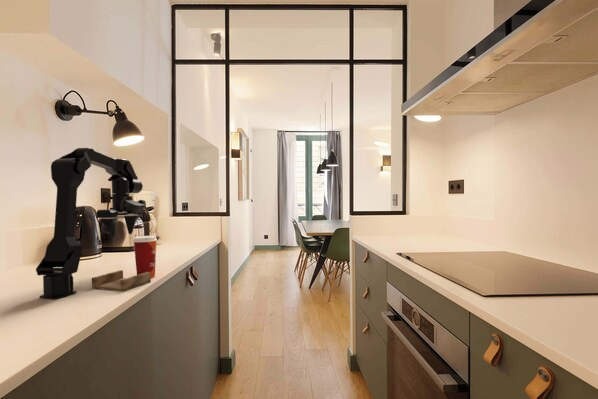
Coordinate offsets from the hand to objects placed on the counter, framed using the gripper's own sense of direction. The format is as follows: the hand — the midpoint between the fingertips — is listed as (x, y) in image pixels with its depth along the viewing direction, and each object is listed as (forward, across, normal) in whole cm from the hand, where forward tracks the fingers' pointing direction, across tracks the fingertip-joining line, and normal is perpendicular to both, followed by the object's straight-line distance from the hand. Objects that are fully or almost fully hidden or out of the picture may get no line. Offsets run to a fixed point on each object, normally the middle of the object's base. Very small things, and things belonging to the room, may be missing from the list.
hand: (122, 235), depth 130 cm
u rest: (+13, -18, -14) cm, 26 cm away
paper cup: (+14, -7, -15) cm, 21 cm away
